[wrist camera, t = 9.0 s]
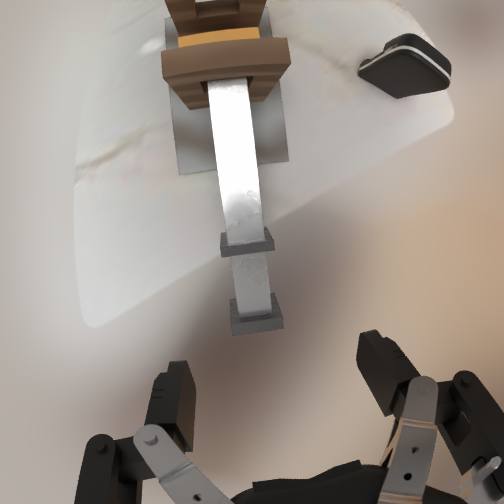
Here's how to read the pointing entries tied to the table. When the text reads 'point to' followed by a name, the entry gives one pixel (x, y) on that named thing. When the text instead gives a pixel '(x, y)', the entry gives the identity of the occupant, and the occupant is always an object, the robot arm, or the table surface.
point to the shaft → (242, 209)
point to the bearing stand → (223, 66)
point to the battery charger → (407, 67)
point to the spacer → (219, 36)
